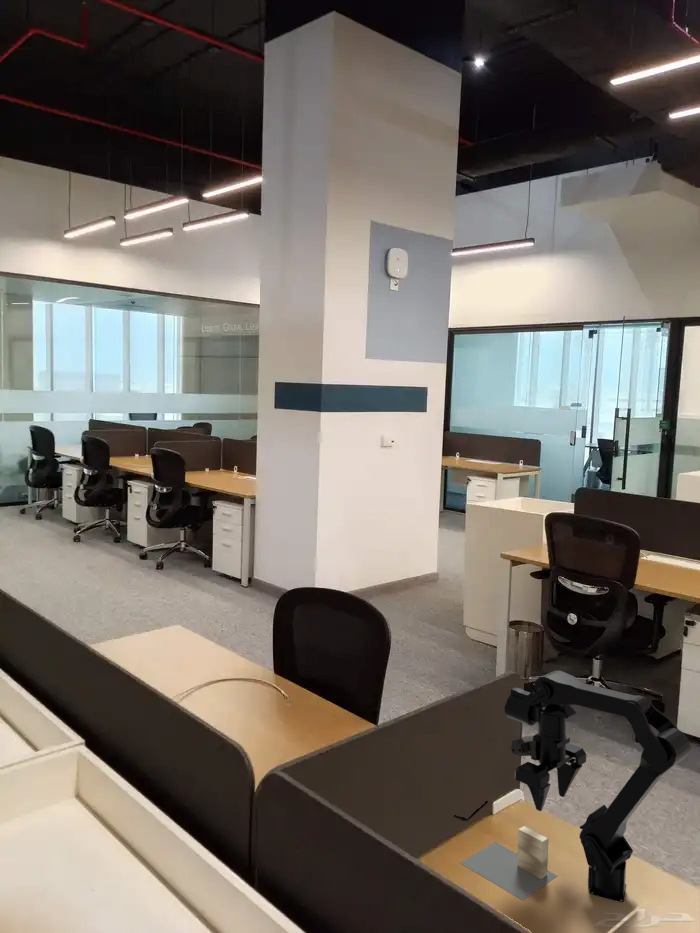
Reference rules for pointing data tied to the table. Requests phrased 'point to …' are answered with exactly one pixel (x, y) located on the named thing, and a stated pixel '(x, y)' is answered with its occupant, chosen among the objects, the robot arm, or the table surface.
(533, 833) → the tile
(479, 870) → the mat
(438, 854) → the table surface
